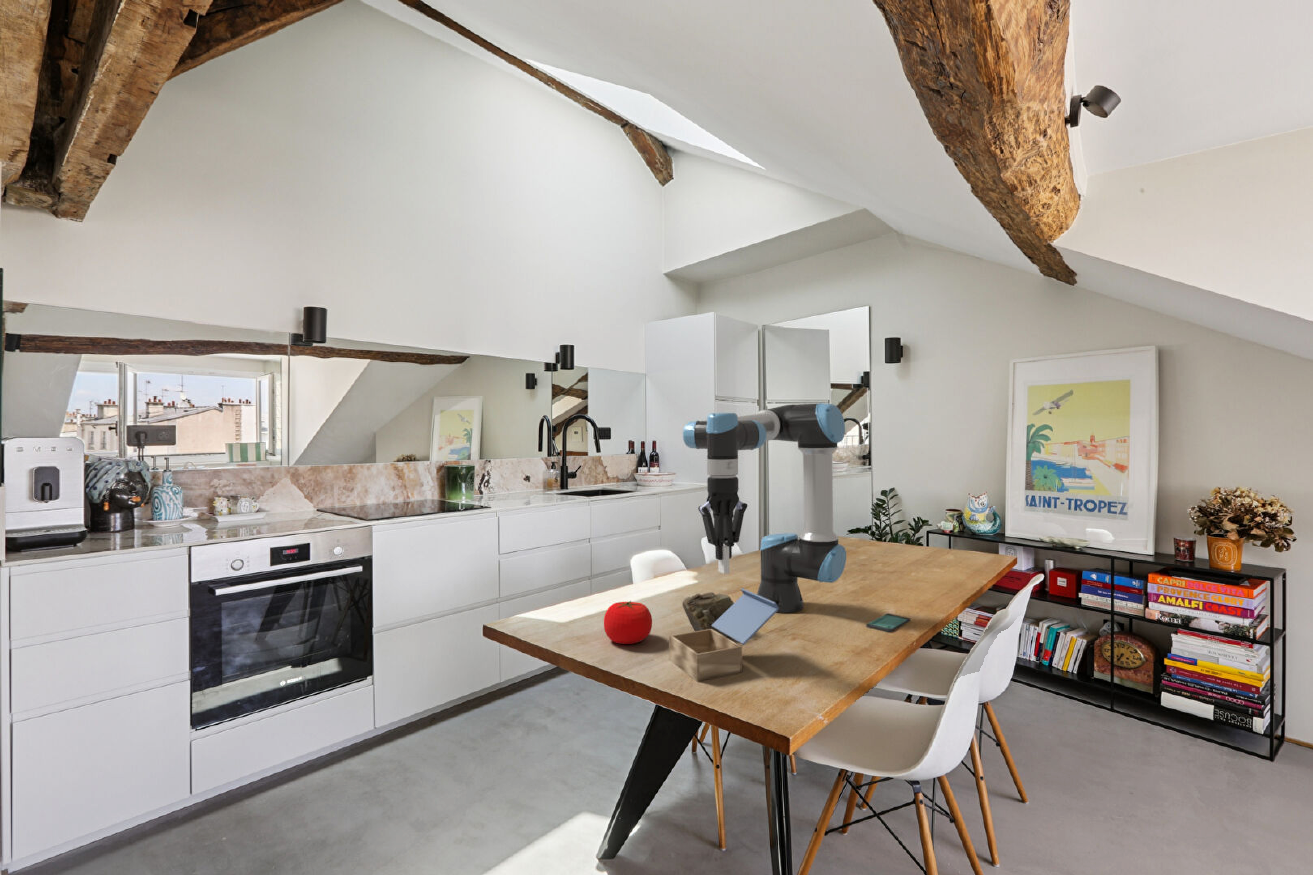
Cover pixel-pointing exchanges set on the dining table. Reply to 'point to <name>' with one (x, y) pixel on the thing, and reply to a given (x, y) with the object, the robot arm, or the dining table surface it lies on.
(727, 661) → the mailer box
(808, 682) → the dining table surface
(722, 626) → the lid
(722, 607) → the stone
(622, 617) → the tomato
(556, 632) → the dining table surface
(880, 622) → the smartphone
